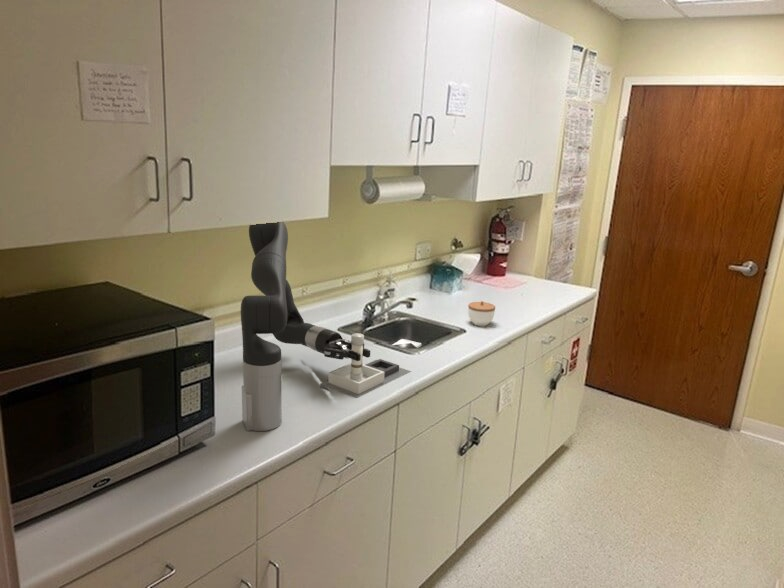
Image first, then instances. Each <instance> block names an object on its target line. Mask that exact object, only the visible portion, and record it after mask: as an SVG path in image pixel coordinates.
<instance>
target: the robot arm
mask: <svg viewBox="0 0 784 588" xmlns="http://www.w3.org/2000/svg"><path fill="white" fill-rule="evenodd" d="M288 233H289V232H288V228H287V225H286V224H285V222H284V221H283V222H277V223H266V224H256V225H250V224H249V226H248V236H249V241H250V242H249V243H250V245H251V248H252V251H253V253H254V258H253V260H252V262H251V263H252V265H251V273H250V274H251V275H250V277H251V278H250V279H251V281H252V283H253V285H254V286H255V287H256V288H257V289H258V290H259V292H261V293H262V294H264V295H245V296H244V297H242V300H241V303H240V324H241V335H242V374H243V375H242V378H243V380H242V381H243V383H242V384H243V385H242V386H241V407H242V408H241V412H242V414H241V415H242V418H241V419H242V422H243V425H244V427H245V429H246V431H247V432H248V431H256V432H266V431H270V430H274V429H276V428H278V427H279V426H280V425H281V424H282V417H283V416H282V349H281V347H280V346H279V345H278V344H276V343H274V342H271V341H268V340H266V339H263V338H262V337H260V336H258V335H260V334H261V335H264V334H265V335H269V334H272V335H273V337H274V338H275V339H276V340H277V341H279V342H281V343H282V344H290V345H291V344H292V345H302V346H304V347H306V348H309V349H311V350H312V351H315V352H317V353H319V354H320V353H321V354H323V355H324V357H325V358H330V359H336V360H340V361H341V360H344V359H350V360H351V359H353V360H356V361H360V358H361V355H360V353H357V352H354V351H352V344H351V340H349V339H345V338H343V337H342V335H341V333H339V332H337V331H335V330H332V329H330V328H329V329H328V328H327V327H326V328H325V327H322V326H319V325H315V324H312V323H308V322H305V321H304V318H303V317H302V315H301V314H300V311H299V310H298V308H297V306H296V304H295V302H294V297H293V291H292V288H291V285H290V283H289V281H288V280H287V249H288V242H289V234H288ZM363 357H364V358H368V359H369V358H370V357H371V350H370V349H368V348H365V343H364V344H363Z"/></svg>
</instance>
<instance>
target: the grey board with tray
mask: <svg viewBox="0 0 784 588" xmlns="http://www.w3.org/2000/svg"><path fill="white" fill-rule="evenodd" d="M350 372H351V363H348V364H346V365H343V366H341V367H338V368H336V369H333V370H330V371H329V372H328V380H326V381H323V382H320V384H319V388H321V389H323V390H325V391H328V392H330V391H329V389H328V388H330V389H332V390H335V391H338V392H340V393H343V394H345V395H347V396H350V397H352V398H355V399H357V398H360V397H362V396H364V395H367V394H368V393H370V392H372V391H374V390H375V391H376V390H377V389H379V388H380V387H383V386H385V385H387V384H389V383H391V382H393V381H395V380H397V379H399V378H401V377H403V376H405V375H407V374H410V373H411V372H412V370H408V369H405V368H402V367H400V365H399V364H397V363H393V362H391V361H388V360H385V359H383V358H382V359H381V358H379V359H375V360H373V361H370V362H367V363H366V364H364V363H362V372H363V378H362V381H360V382H357V381H354V380H352V379H350Z"/></svg>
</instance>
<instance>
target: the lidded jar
mask: <svg viewBox="0 0 784 588" xmlns="http://www.w3.org/2000/svg"><path fill="white" fill-rule="evenodd" d="M467 306H468V310H467V311H468V312H467V313H468V317H469V320H470V321H471V323H472V324H473V325H475V326H478V327H486V325H487V326H488V325H489V324H490V323H492V320H493V319H494V317H495V312H496V311H495V310H496V305H494V304H492V303H490V302H484V301H483V300H482V301H481V300H480V301H472V302H469V303H468V305H467Z"/></svg>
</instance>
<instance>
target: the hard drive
mask: <svg viewBox="0 0 784 588" xmlns="http://www.w3.org/2000/svg"><path fill="white" fill-rule="evenodd" d="M404 344H412V345H413V346H414V347H415V348H417V349H419V348H420V347H422V343H421V342H416V341H413V340H409V339H403V338H401V339H399V340H397V341H396V342H394V343H393V344H392V346H397V345H398V346H399V345H404Z"/></svg>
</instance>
